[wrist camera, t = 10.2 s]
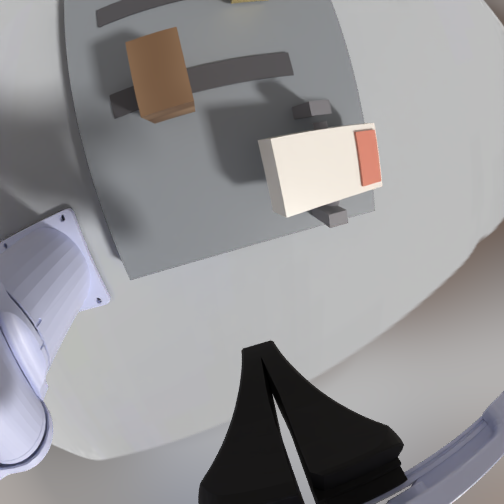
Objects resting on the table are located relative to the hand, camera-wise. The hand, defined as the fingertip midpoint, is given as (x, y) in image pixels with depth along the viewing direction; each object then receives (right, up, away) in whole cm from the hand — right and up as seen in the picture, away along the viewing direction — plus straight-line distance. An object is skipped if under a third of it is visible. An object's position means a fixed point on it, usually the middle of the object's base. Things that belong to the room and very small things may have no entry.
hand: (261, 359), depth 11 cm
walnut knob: (-5, +14, +1) cm, 15 cm away
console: (-3, +17, +3) cm, 17 cm away
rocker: (+4, +10, +3) cm, 11 cm away
